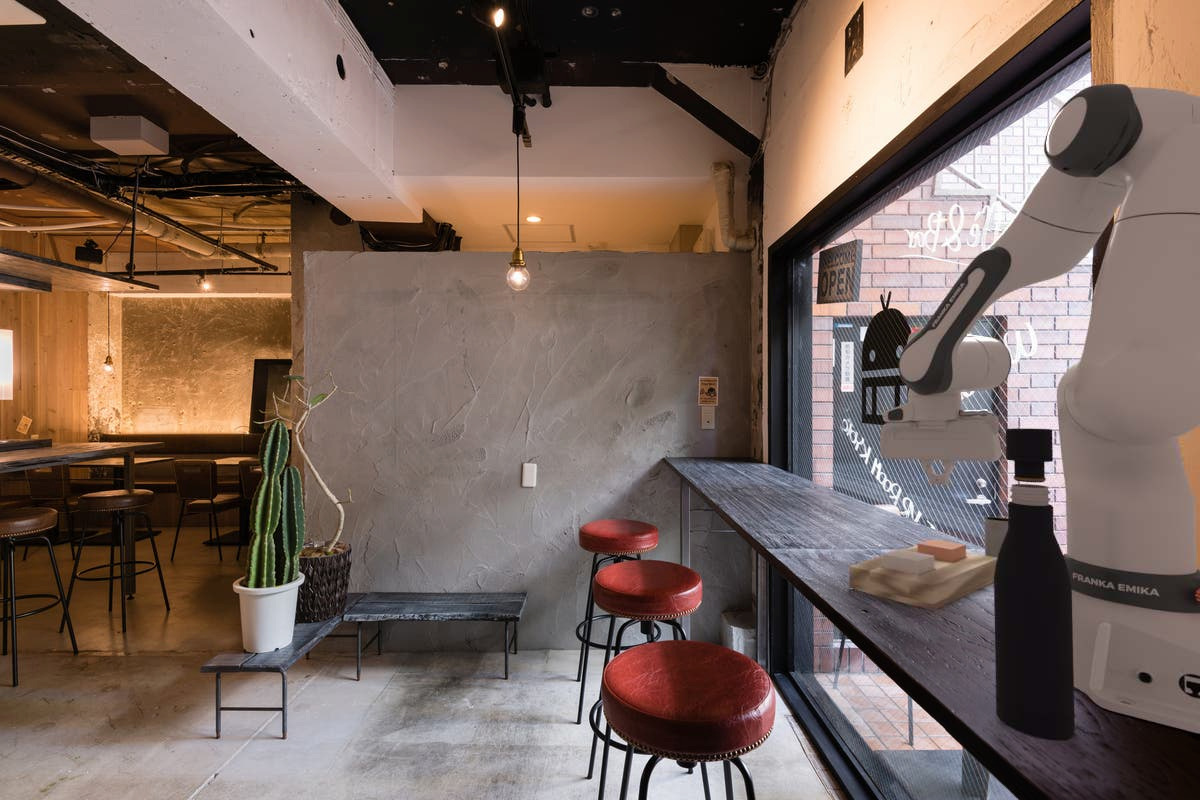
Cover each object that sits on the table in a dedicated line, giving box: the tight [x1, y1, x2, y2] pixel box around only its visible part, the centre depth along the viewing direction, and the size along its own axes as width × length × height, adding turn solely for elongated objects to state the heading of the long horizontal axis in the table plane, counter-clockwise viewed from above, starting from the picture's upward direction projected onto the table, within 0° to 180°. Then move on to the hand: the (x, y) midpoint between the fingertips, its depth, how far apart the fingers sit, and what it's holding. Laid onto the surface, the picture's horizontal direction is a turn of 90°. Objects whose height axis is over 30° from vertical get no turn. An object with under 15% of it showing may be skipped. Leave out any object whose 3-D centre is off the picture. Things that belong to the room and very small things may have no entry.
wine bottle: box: [993, 427, 1076, 741], centre depth 59 cm, size 6×6×30 cm
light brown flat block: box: [848, 544, 997, 611], centre depth 105 cm, size 14×27×4 cm, turn 127°
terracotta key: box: [917, 538, 967, 563], centre depth 109 cm, size 6×6×4 cm
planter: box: [983, 516, 1008, 558], centre depth 112 cm, size 4×4×10 cm
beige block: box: [882, 548, 935, 576], centre depth 101 cm, size 6×6×4 cm
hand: (939, 484), depth 109 cm, fingers closed
